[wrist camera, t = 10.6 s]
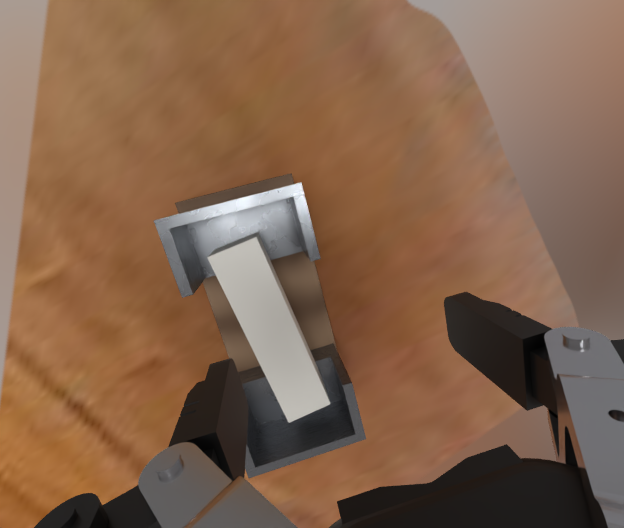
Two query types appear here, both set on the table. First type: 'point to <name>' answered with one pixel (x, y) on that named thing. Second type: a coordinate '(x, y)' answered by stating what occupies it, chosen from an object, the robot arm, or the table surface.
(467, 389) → the table surface
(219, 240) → the grey boxes
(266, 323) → the block
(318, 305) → the plank
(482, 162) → the table surface
